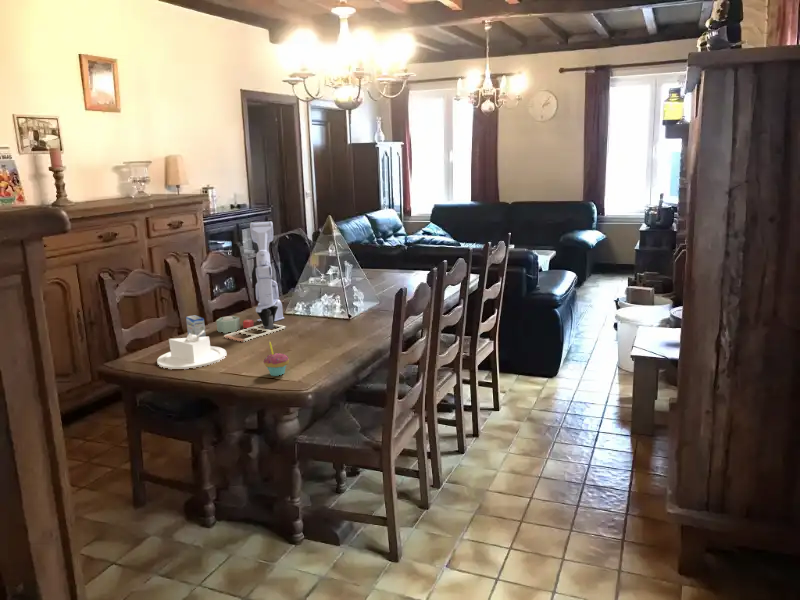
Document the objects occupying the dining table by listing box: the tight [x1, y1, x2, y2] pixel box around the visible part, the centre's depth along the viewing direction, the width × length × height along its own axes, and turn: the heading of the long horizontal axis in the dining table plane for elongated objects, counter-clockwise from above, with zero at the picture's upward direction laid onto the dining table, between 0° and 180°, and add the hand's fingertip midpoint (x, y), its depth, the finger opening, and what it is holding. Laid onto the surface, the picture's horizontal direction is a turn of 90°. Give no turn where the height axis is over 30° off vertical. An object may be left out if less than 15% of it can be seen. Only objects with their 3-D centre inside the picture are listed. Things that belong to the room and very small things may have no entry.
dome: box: [221, 315, 235, 321], centre depth 283 cm, size 6×6×4 cm
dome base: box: [215, 315, 241, 334], centre depth 283 cm, size 8×10×5 cm
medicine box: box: [185, 314, 207, 337], centre depth 274 cm, size 8×4×9 cm, turn 42°
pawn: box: [263, 309, 275, 330], centre depth 282 cm, size 4×4×9 cm
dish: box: [156, 330, 228, 370], centre depth 246 cm, size 25×25×11 cm
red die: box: [242, 319, 255, 329], centre depth 286 cm, size 3×3×3 cm
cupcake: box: [263, 340, 290, 377], centre depth 225 cm, size 9×8×12 cm
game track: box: [223, 323, 287, 343], centre depth 277 cm, size 23×13×1 cm, turn 141°
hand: (268, 324), depth 283 cm, fingers closed on pawn, 4 cm apart
